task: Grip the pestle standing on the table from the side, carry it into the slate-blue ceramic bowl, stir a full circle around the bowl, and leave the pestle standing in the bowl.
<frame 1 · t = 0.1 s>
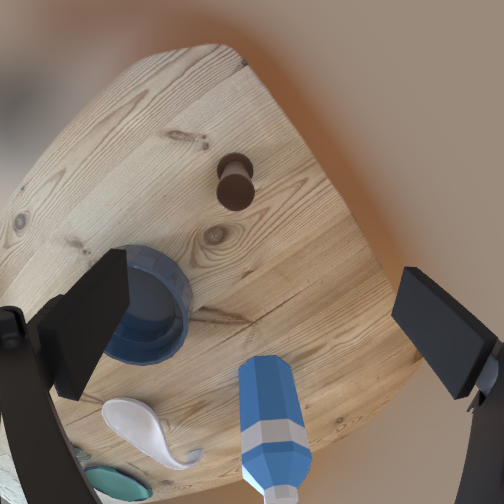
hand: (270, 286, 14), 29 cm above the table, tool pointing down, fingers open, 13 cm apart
bowl: (140, 295, 45), on the table
water bottle: (264, 374, 52), on the table
pestle: (235, 169, 40), on the table
spoon rest: (157, 424, 55), on the table
cutlery set: (102, 471, 63), on the table
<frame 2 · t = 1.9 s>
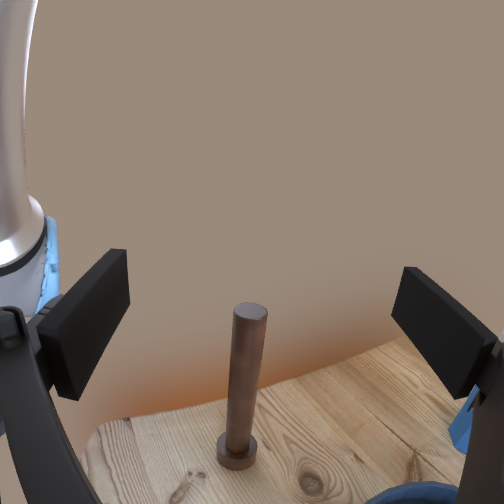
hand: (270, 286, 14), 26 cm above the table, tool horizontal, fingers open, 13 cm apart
water bottle: (473, 435, 31), on the table
pestle: (235, 455, 31), on the table
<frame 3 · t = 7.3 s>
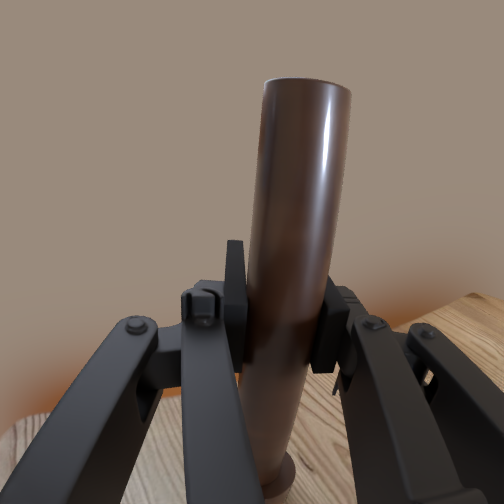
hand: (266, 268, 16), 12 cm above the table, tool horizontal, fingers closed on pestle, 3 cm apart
pestle: (251, 487, 15), on the table, touching gripper
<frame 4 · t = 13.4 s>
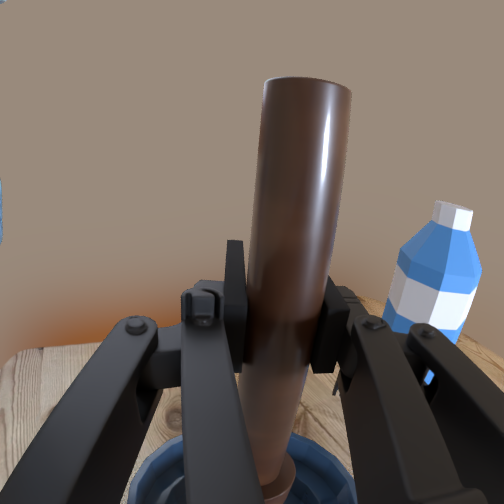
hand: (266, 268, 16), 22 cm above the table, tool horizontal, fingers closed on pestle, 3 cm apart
water bottle: (388, 404, 34), on the table
pestle: (251, 487, 15), point 10 cm above the table, touching gripper
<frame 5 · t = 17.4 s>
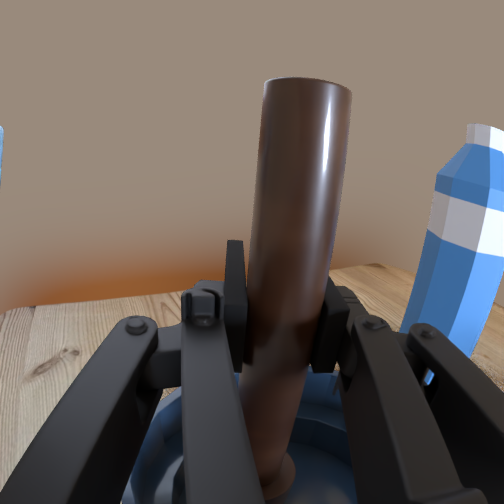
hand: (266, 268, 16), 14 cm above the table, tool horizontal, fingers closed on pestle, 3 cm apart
water bottle: (428, 361, 30), on the table
pestle: (251, 487, 15), point 2 cm above the table, touching gripper
when the fingers open (13 cm above the table, at t = 20.0 s): pestle stays where it is, resting on bowl.
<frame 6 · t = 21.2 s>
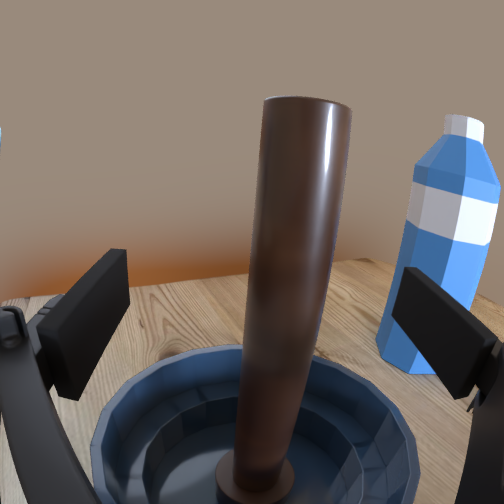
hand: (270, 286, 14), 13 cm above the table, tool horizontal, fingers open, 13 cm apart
bowl: (250, 494, 15), on the table
water bottle: (412, 351, 31), on the table
pestle: (251, 491, 15), point 1 cm above the table, touching bowl
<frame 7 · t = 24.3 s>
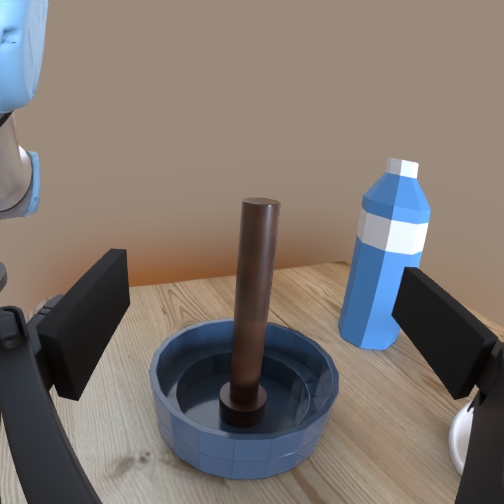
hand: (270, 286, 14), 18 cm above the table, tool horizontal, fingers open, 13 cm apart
bowl: (240, 414, 28), on the table
water bottle: (366, 333, 44), on the table
pestle: (241, 411, 28), point 1 cm above the table, touching bowl
spoon rest: (499, 433, 23), on the table
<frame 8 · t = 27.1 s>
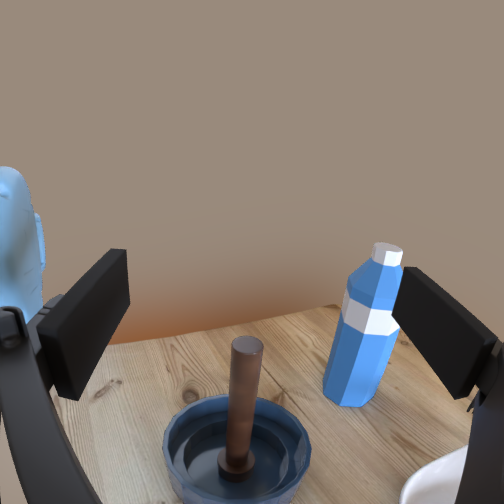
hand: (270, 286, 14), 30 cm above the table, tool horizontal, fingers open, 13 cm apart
bowl: (234, 470, 32), on the table
water bottle: (347, 389, 48), on the table
pestle: (235, 468, 32), point 1 cm above the table, touching bowl
spoon rest: (452, 486, 27), on the table
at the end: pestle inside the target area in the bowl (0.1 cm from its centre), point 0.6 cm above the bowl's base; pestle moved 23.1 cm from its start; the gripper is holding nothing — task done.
